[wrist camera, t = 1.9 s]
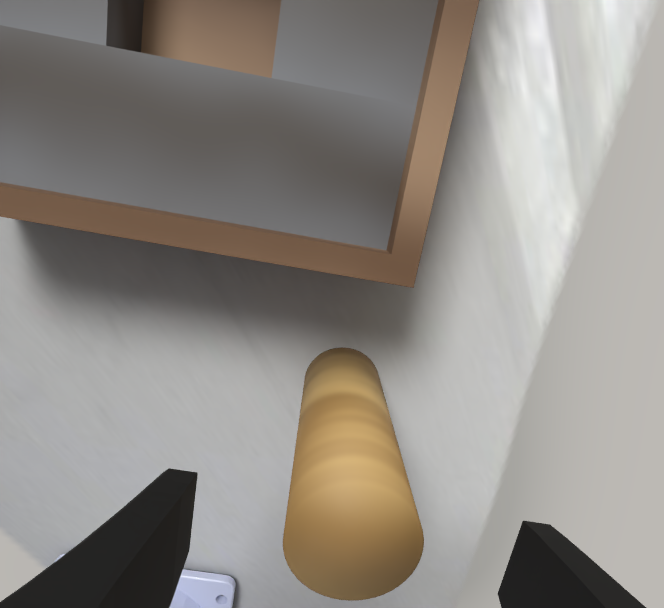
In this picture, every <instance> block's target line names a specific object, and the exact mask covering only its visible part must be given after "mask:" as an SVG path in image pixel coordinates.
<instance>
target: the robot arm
mask: <svg viewBox="0 0 664 608" xmlns="http://www.w3.org/2000/svg"><path fill="white" fill-rule="evenodd" d="M196 483H197V473H196V472H189V471H183V470H176V469H168V470H166V471H165V472H163V473H162V474H161V475H160V476H159V477H157V478H156V479H155V480H154V481H153V482H152V483H151V484H150V485H148V486H147V487H146V488H145V489H144V490H143V491H142V492H141V493H139V494H138V495H137V496H136V497H135V498H134V499H133V500H131V501H130V502H129V503H128V504H127V505H126V506H124V507H123V508H122V509H121V510H120V511H119V512H117V513H116V514H115V515H114V516H113V517H111V518H110V519H109V520H108V521H106V522H105V523H104V524H103V525H102V526H100V527H99V528H98V529H97V530H95V531H94V532H93V533H92V534H91V535H89V536H88V537H87V538H86V539H84V540H83V541H82V542H81V543H79V544H78V545H77V546H76V547H74V548H73V549H72V550H70V551H69V552H68V553H66V554H62V555H60V556H59V557H58V558H57V559H56V560H55V562H54V563H53V564H52V565H50V566H49V567H48V568H46V569H45V570H44V571H42V572H41V573H40V574H39V575H37V576H36V577H35V578H33V579H32V580H31V581H29V582H28V583H27V584H25V585H24V586H22V587H21V588H20V589H18V590H17V591H16V592H14V593H12V594H11V595H10V596H8V597H7V598H5V599H4V600H3V601H1V602H0V608H232V606H233V600H234V593H235V586H236V584H235V581H234V579H233V578H232V577H230V576H228V575H222V574H215V573H207V572H200V571H193V570H185V569H183V567H184V564H185V561H186V558H187V555H188V552H189V547H190V538H191V528H192V519H193V510H194V501H195V492H196ZM221 595H223V596H221ZM498 596H499V600H500V604H501V607H502V608H646V607H645V606H644V605H642V604H641V603H640V602H639V601H638V600H637V599H636V598H634V597H633V596H632V595H631V594H630V593H629V592H628V591H627V590H625V589H624V588H623V587H622V586H621V585H620V584H619V583H617V582H616V581H615V580H614V579H613V578H612V577H611V576H609V575H608V574H607V573H606V572H605V571H604V570H602V569H601V568H600V567H599V566H598V565H597V564H596V563H595V562H594V561H592V560H591V559H590V558H589V557H588V556H587V555H586V554H584V553H583V552H582V551H581V550H580V549H579V548H577V547H576V546H575V545H574V544H573V543H572V542H570V541H569V540H568V539H567V538H566V537H565V536H563V535H562V534H561V533H560V532H558V531H557V530H556V529H555V528H553V527H552V526H551V525H548V524H542V523H535V522H528V521H523V522H522V525H521V528H520V531H519V534H518V537H517V540H516V542H515V545H514V548H513V551H512V554H511V557H510V560H509V563H508V565H507V568H506V571H505V574H504V577H503V580H502V583H501V586H500V588H499V591H498Z"/></svg>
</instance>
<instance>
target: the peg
mask: <svg viewBox="0 0 664 608" xmlns="http://www.w3.org/2000/svg"><path fill="white" fill-rule="evenodd" d="M423 545H424V537H423V530H422V527H421V523H420V520H419V516H418V513H417V509H416V506H415V502H414V499H413V495H412V492H411V488H410V485H409V481H408V478H407V474H406V471H405V467H404V464H403V460H402V457H401V453H400V450H399V446H398V442H397V439H396V435H395V432H394V428H393V425H392V421H391V418H390V414H389V411H388V407H387V404H386V400H385V397H384V393H383V390H382V386H381V383H380V379H379V376H378V372H377V369H376V367H375V365H374V364H373V362H372V361H371V360H370V359H369V358H368V357H367V356H366V355H364V354H363V353H361V352H359V351H357V350H354V349H350V348H334V349H330V350H328V351H325V352H323V353H321V354H320V355H319V356H317V357H316V358H315V359H314V360H313V361H312V362H311V364H310V365H309V367H308V369H307V372H306V375H305V381H304V388H303V396H302V403H301V410H300V418H299V425H298V432H297V440H296V447H295V455H294V462H293V469H292V477H291V484H290V492H289V499H288V506H287V514H286V521H285V528H284V536H283V551H284V555H285V559H286V561H287V564H288V566H289V568H290V569H291V571H292V572H293V574H294V575H295V576H296V578H297V579H298V580H299V581H301V582H302V583H303V584H304V585H305V586H307V587H308V588H309V589H311V590H313V591H315V592H317V593H319V594H321V595H324V596H327V597H330V598H334V599H339V600H364V599H370V598H374V597H377V596H380V595H383V594H385V593H387V592H389V591H392V590H393V589H395V588H396V587H398V586H399V585H401V584H402V583H403V582H404V581H405V580H406V579H407V578H408V577H409V576H410V575H411V574H412V573H413V571H414V570H415V569H416V567H417V565H418V563H419V561H420V558H421V555H422V551H423Z"/></svg>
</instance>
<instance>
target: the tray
mask: <svg viewBox="0 0 664 608" xmlns="http://www.w3.org/2000/svg"><path fill="white" fill-rule="evenodd" d="M478 4H479V0H0V216H1V217H6V218H12V219H18V220H24V221H30V222H35V223H41V224H47V225H53V226H59V227H64V228H70V229H76V230H82V231H88V232H93V233H99V234H105V235H111V236H117V237H122V238H128V239H134V240H140V241H146V242H151V243H157V244H163V245H169V246H174V247H180V248H186V249H192V250H198V251H203V252H209V253H215V254H221V255H227V256H232V257H238V258H244V259H250V260H256V261H261V262H267V263H273V264H279V265H285V266H290V267H296V268H302V269H308V270H314V271H319V272H325V273H331V274H337V275H343V276H348V277H354V278H360V279H366V280H372V281H377V282H383V283H389V284H395V285H401V286H406V287H412V288H414V283H415V279H416V274H417V270H418V266H419V261H420V257H421V253H422V248H423V244H424V239H425V235H426V231H427V226H428V222H429V218H430V213H431V209H432V205H433V200H434V196H435V191H436V187H437V183H438V178H439V174H440V170H441V165H442V161H443V156H444V152H445V148H446V143H447V139H448V135H449V130H450V126H451V122H452V117H453V113H454V108H455V104H456V100H457V95H458V91H459V87H460V82H461V78H462V73H463V69H464V65H465V60H466V56H467V52H468V47H469V43H470V39H471V34H472V30H473V25H474V21H475V17H476V12H477V8H478Z"/></svg>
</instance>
